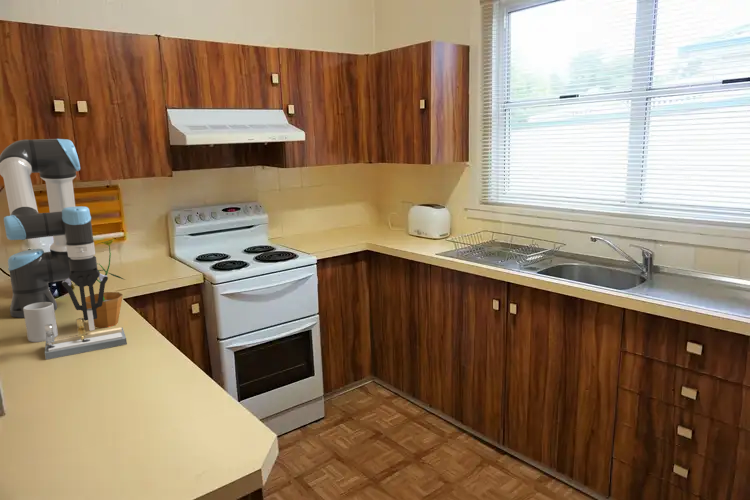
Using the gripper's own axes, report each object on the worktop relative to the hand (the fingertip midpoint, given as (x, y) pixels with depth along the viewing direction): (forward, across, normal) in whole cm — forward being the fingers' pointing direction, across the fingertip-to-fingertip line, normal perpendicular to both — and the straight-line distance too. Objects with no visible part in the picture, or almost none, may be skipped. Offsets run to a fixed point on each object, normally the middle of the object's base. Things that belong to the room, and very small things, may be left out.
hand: (92, 329), depth 171 cm
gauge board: (+4, -2, -2) cm, 5 cm away
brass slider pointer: (+1, -3, -2) cm, 4 cm away
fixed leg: (+1, -12, -2) cm, 12 cm away
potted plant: (+5, +4, +17) cm, 18 cm away
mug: (+5, -14, +16) cm, 22 cm away
